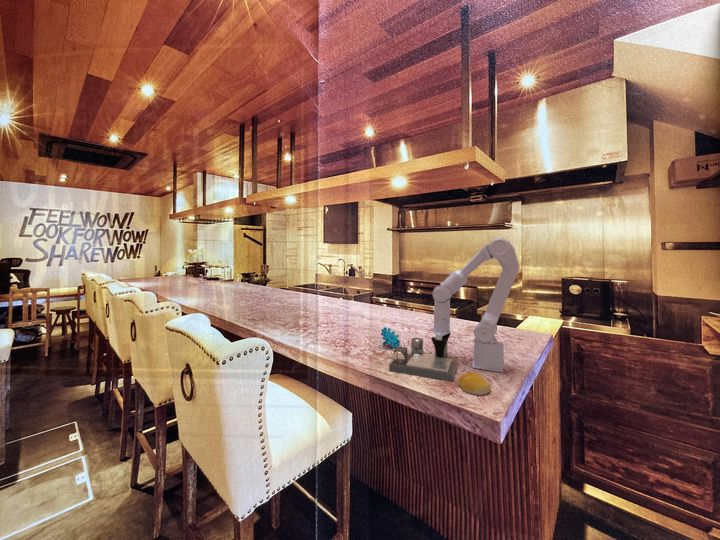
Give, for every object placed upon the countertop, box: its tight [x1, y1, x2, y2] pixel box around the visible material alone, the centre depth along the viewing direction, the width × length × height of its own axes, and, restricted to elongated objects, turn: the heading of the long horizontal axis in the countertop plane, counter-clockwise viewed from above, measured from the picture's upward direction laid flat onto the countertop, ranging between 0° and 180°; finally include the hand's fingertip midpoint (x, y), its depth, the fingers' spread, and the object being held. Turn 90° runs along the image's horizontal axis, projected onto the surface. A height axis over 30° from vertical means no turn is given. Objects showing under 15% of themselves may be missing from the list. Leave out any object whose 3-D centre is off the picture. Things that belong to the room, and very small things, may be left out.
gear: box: [380, 326, 401, 349], centre depth 122 cm, size 11×6×10 cm
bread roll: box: [458, 372, 491, 396], centre depth 83 cm, size 8×9×4 cm
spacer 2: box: [434, 342, 448, 358], centre depth 108 cm, size 4×4×6 cm
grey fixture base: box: [388, 346, 458, 382], centre depth 97 cm, size 20×13×6 cm, turn 67°
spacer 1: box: [410, 337, 424, 355], centre depth 111 cm, size 4×4×6 cm
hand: (441, 354), depth 108 cm, fingers open, 7 cm apart
